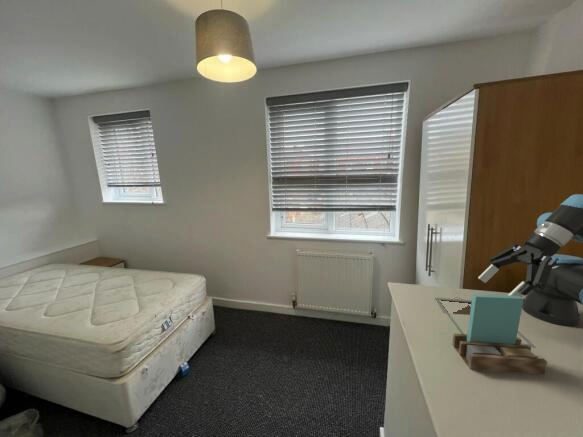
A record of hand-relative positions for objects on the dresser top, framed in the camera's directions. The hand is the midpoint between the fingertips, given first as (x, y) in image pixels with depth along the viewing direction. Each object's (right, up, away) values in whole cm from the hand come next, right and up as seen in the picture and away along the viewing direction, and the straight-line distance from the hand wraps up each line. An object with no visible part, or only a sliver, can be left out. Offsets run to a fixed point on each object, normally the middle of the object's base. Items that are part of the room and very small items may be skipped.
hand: (494, 289), depth 80 cm
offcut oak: (-5, -17, -13) cm, 22 cm away
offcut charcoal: (-13, -17, -11) cm, 24 cm away
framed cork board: (+1, -14, +10) cm, 18 cm away
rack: (-9, -18, -10) cm, 22 cm away
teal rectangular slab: (-8, -16, -8) cm, 20 cm away
